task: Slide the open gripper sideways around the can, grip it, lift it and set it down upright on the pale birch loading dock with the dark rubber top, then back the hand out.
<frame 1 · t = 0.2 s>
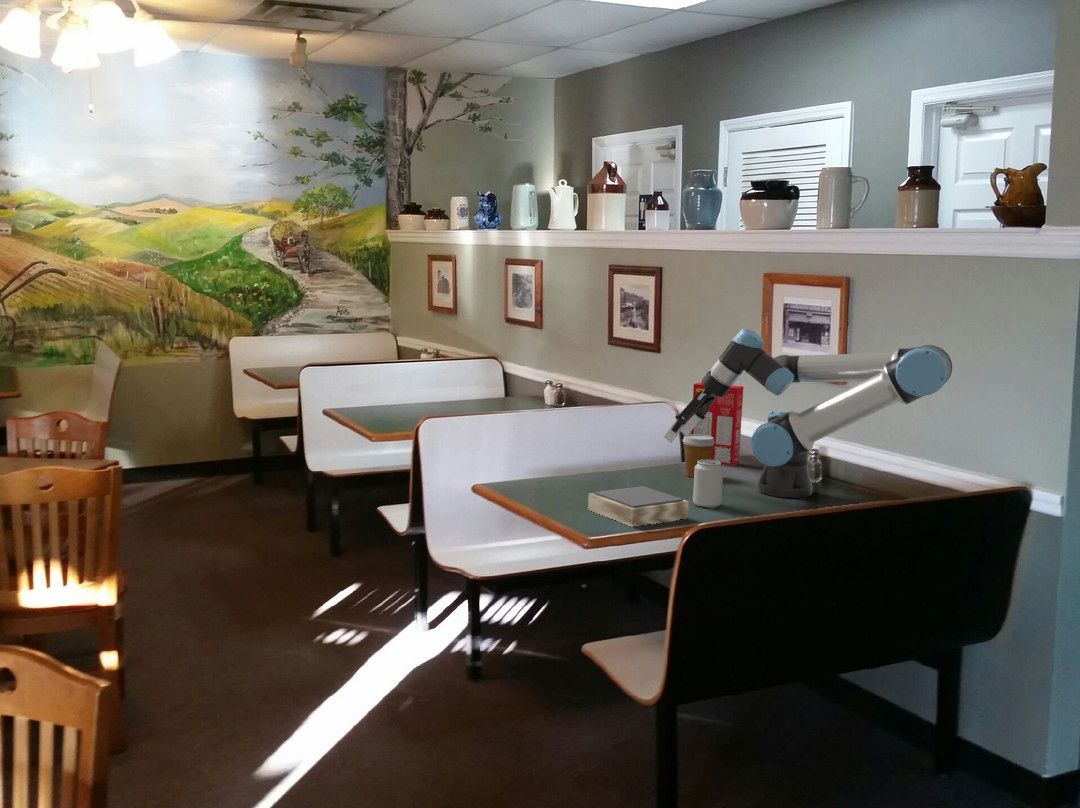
hand: (675, 436, 296), 15 cm above the table, tool tilted 35°, fingers open, 13 cm apart
can: (706, 506, 279), on the table
food packaging: (714, 462, 337), on the table
dock: (637, 514, 266), on the table
disposable coffee cup: (696, 476, 315), on the table
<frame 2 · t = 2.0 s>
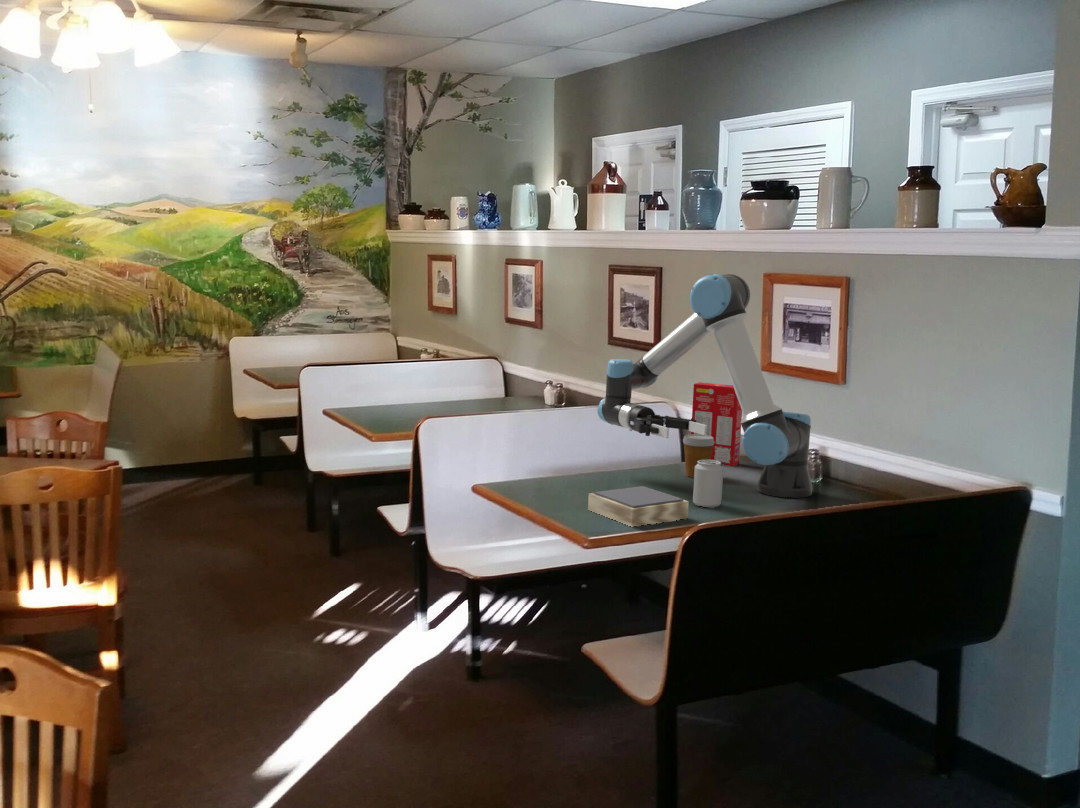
hand: (687, 431, 284), 18 cm above the table, tool horizontal, fingers open, 13 cm apart
nothing on the table moved.
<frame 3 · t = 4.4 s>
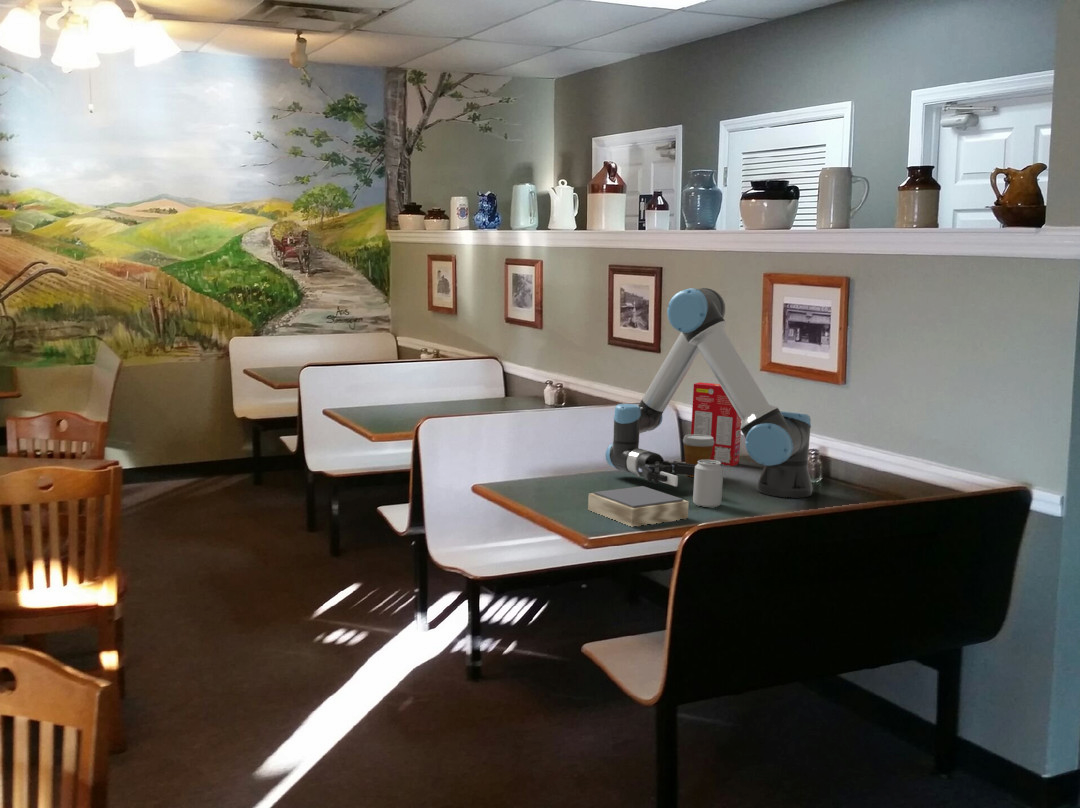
hand: (696, 478, 281), 6 cm above the table, tool horizontal, fingers open, 13 cm apart
nothing on the table moved.
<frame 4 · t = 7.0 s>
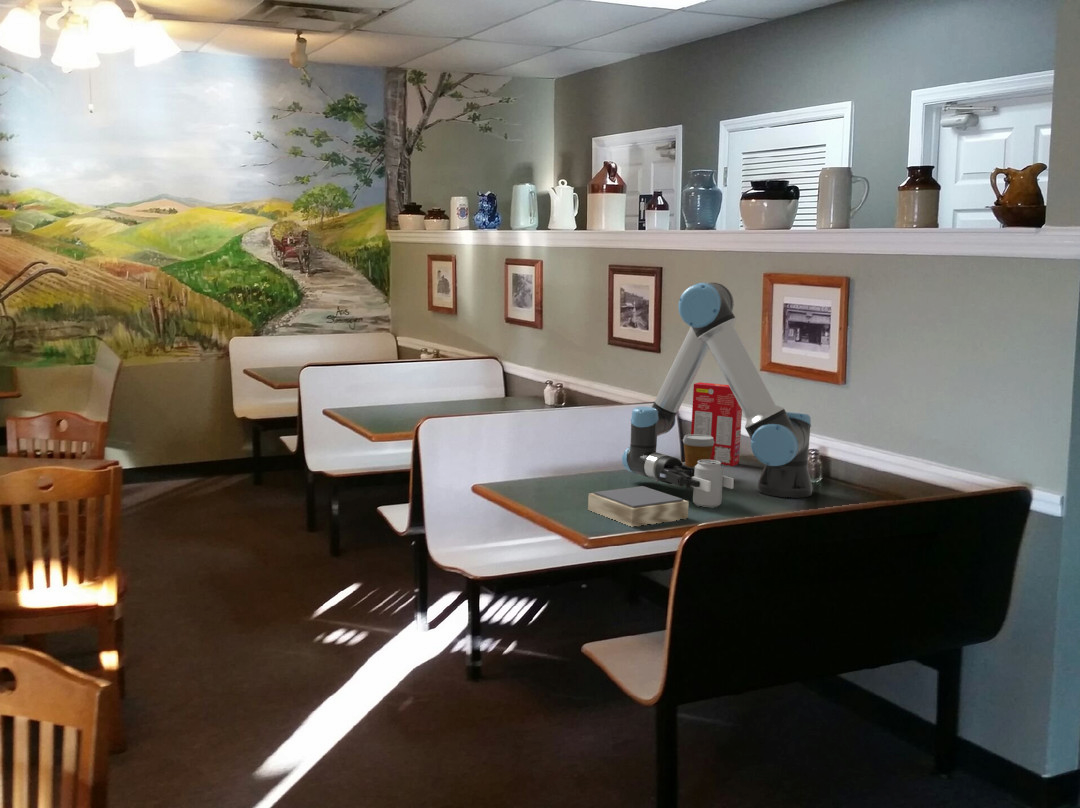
hand: (721, 485, 274), 7 cm above the table, tool horizontal, fingers closed on can, 7 cm apart
can: (706, 506, 279), on the table, touching gripper
everything else where it was.
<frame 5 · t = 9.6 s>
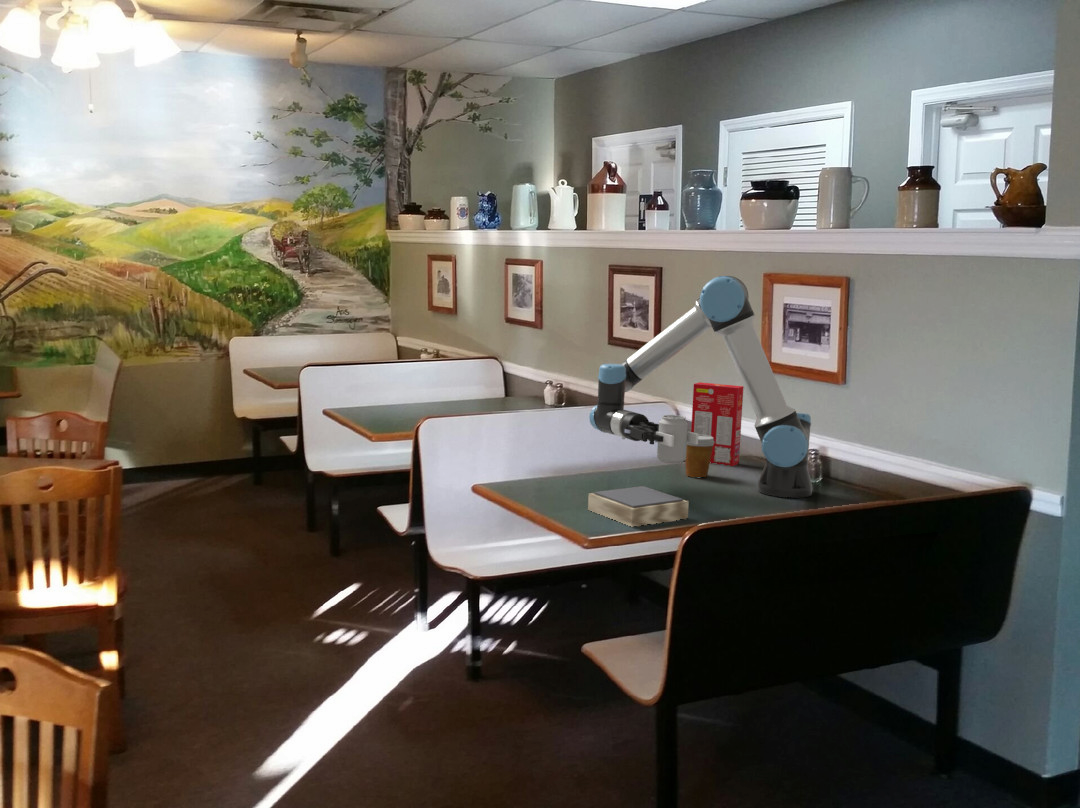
hand: (684, 440, 268), 19 cm above the table, tool horizontal, fingers closed on can, 7 cm apart
can: (671, 462, 273), point 12 cm above the table, touching gripper
everything else where it was.
when the fingers open (13 cm above the table, at t = 12.5 s): can drops 1 cm, resting on dock.
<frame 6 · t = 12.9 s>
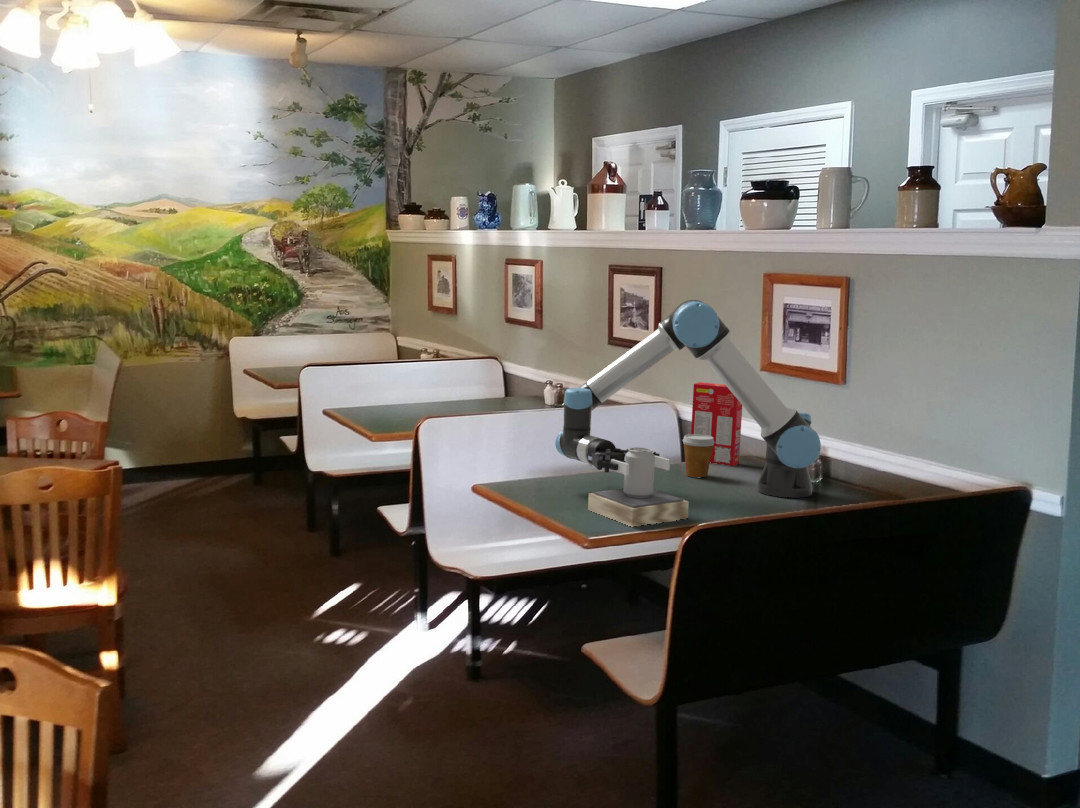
hand: (648, 467, 262), 13 cm above the table, tool horizontal, fingers open, 12 cm apart
can: (637, 496, 266), point 5 cm above the table, touching dock
everything else where it was.
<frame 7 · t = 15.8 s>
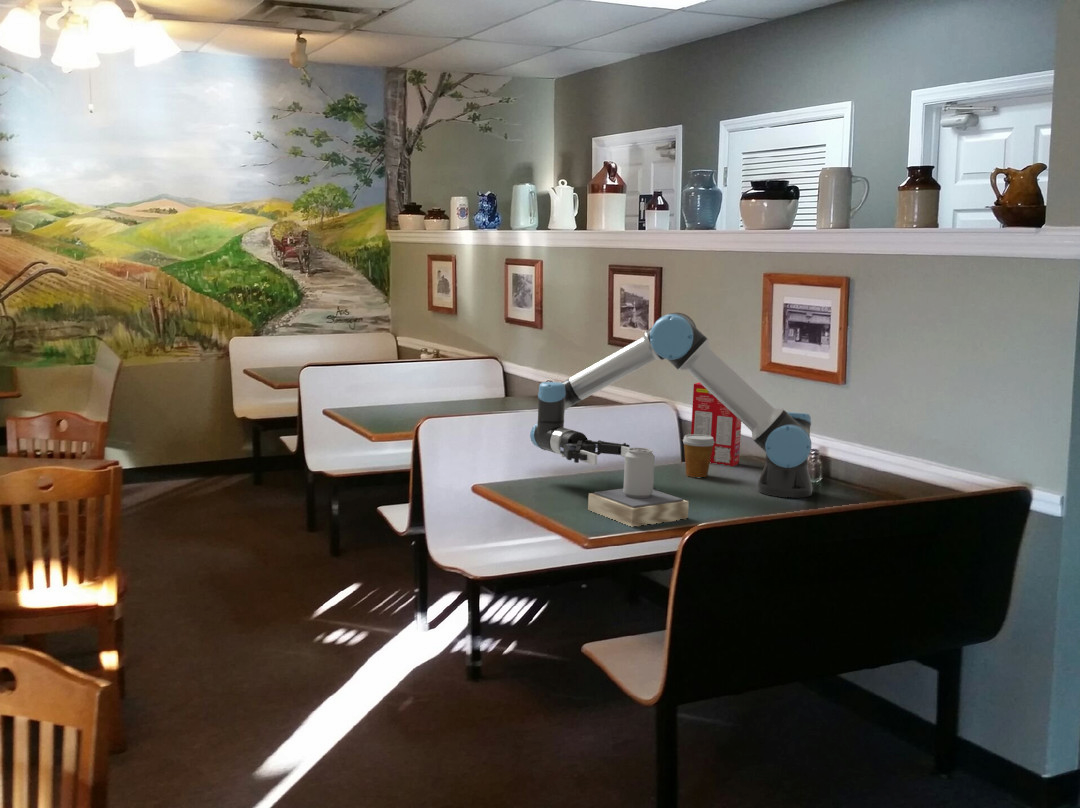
hand: (617, 457, 272), 13 cm above the table, tool horizontal, fingers open, 13 cm apart
nothing on the table moved.
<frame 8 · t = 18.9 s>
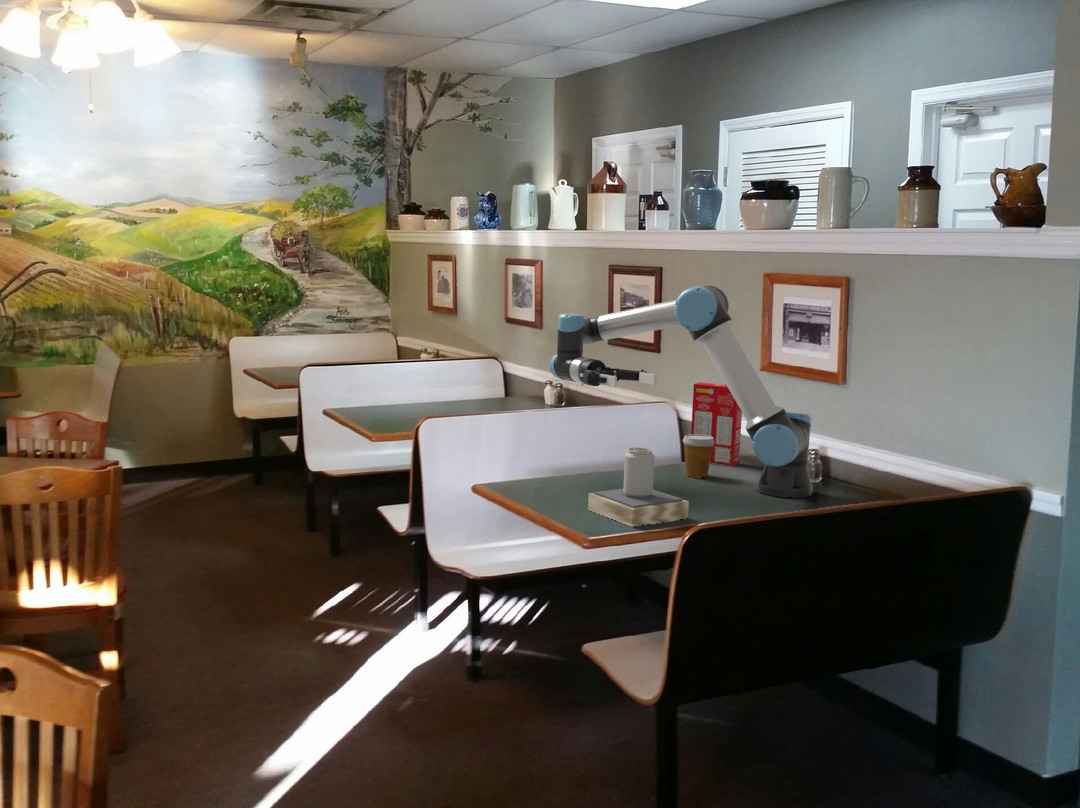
hand: (635, 380, 280), 32 cm above the table, tool horizontal, fingers open, 13 cm apart
nothing on the table moved.
at the end: can inside the target area on the dock (0.1 cm from its centre), point 4.8 cm above the dock's base; can tilted 0°; the gripper is holding nothing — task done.
